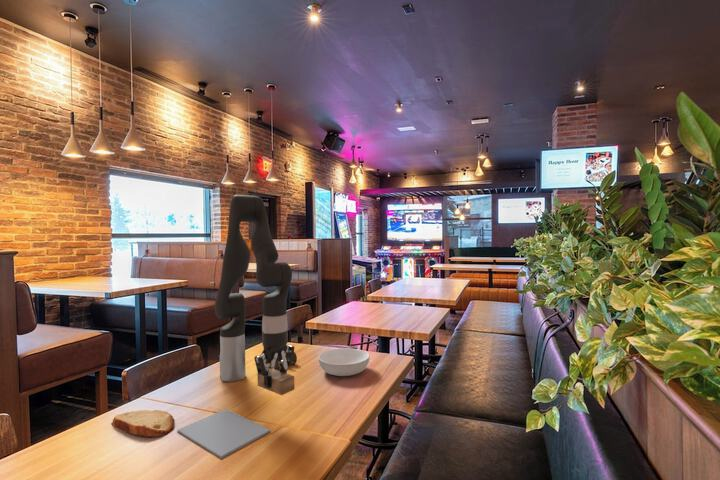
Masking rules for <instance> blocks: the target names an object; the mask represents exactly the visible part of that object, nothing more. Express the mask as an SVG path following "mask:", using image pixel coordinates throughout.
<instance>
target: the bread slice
mask: <svg viewBox="0 0 720 480" xmlns="http://www.w3.org/2000/svg"><path fill="white" fill-rule="evenodd" d="M175 422H176V421H175V419H174V416H173V415H172V414H171V413H169V412H168V411H164V410H159V409H157V410H156V409H155V410H146V409H145V410H136V411H135V410H134V411H127V412H123V413H120V414H116V415H115V416H114V417H113V419H112V422H111V426H113V427H114V428H115V429H118V430H120V431H123V432H125V433H128V434H130V435H134V436H139V437H148V438H160V437H162V436H163V437H164V436H167V435H168V434H169V435H170V433H171V432H173V431H174V430H175V425H176V423H175Z"/></svg>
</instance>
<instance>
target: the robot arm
mask: <svg viewBox="0 0 720 480" xmlns="http://www.w3.org/2000/svg"><path fill="white" fill-rule="evenodd" d="M265 205H266V204H265V202H264V199H262V197H260V196H258V195H249V194H248V195H245V194H234V195H233V196H232V197H231V200H230V205H229V213H228V215H229V216H228V224H227V226H228V228H227V235H226V236H227V237H226V242H225V248H224V253H223V260H222V267H221V274H220V275H221V276H220V280H219V286H218V289H217V293H216V298H215V303H214V314H215V316H216V317H217V318H218V319H222V320H223V319H231V318H232V320H231V321H230V322H228V323H226V324H224V325H223V326H221V328H220V329H219V343H220V345H219V347H220V352H219V377H220V380H221V381H223V382H227V383H228V382H232V383H233V382H237V381H241V380H244V379H245V378H246V373H247V372H246V339H245V338H246V337H245V335H246V334H245V330H246V329H245V328H246V298H245V296H244V295H243V293H242V292H235V293H231V292H232V290H233V289H234V287H235V286H236V285H237V284H238V283H239V282H240V281H241V279H243V277H244V276H245V275H246V274H247V271H248V269H249V264H250V259H251V250H252V252H253V256H254V257H255V263H256V264H255V265H256V271H255V272H256V273H255V280H256V282H257V284H258V285H259V286H261V287H262V288H273V287H276V289H275V291H273V292H272V293H268V294H266V295H264V296H263V297H262V317H261V319H262V321H261V336H262V337H261V340H262V341H261V345H262V346H263V350H262V352H263V353H262V352H261V354H259V355H255V356H254V362H255V367H256V371H257V373H258V374H260V375H263V376H264V385H265V386H266V387H267V388H271V387H272V376H271V373H272V369H275V368H274V366H275V363H277V362H278V364H279V366H280V369H279V370H278V371H280V372H283V373H286V374H288V372H287V371H288V370H287V369H288V367H289V366H290V367H291V366H292V365H293V364H292V361H293V354H294V352H295V346H294V345H290V344H288V343H289V342H288V341H289V340H288V337H289V335H288V333H289V332H288V317H287V316H288V315H287V300H288V294H289V290H290V286H291V282H292V278H293V269H292V267H291V266H290V264H288V263H287V262H277V261H278V259H279V251H278V249H277V247H276V245H275V242H274V240H273V237H272V233H271V230H270V224H269V220H268V219H269V218H268V215H267V211H266V210H267V209H266V206H265ZM241 223H256V224H257V226H256V228H255V231H254V232H253V233H252V234H253V235H252V236H251V239H250V240H251V241H250V246H251V250H250V248H249V246H248V244H247V242H246V240H245V239H244V237H243V235H242V232H241V229H240V228H241ZM264 358H265V360H264ZM288 358H289V361H288ZM267 370H268V371H267Z"/></svg>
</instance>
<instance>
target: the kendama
mask: <svg viewBox="0 0 720 480" xmlns="http://www.w3.org/2000/svg"><path fill="white" fill-rule="evenodd" d="M262 353H263V351H261V354H262ZM297 357H298V356H297V354H296V352H295V351H294V354H293V361H292V365H295V364H297V361H298V358H297ZM264 360H265V358H264ZM288 361H289V358H288ZM273 369H275V370H277V371H279V369H280V366H279V364H278V362H277V363H275V366H274V368H273Z"/></svg>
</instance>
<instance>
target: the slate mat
mask: <svg viewBox="0 0 720 480" xmlns="http://www.w3.org/2000/svg"><path fill="white" fill-rule="evenodd" d="M176 432H177V433H179V434H180V435H181V436H184V437H186V439H189V440H190V441H192V442H193V443H195V444H197V445H198V446H200V447H201V448H203V449H204V450H206V451H208V452H210V453H211V454H213V455H214V456H216V457H218V458H219V459H223V458H226V457H227V456H228V455H229V456H230V455H231V454H232V453H234V452H235V451H238V450H240V449H242V448H244V447H245V446H248V444H251V443H252V442H254V441H256V440H259V439H260V438H262V437H263V436H265V435H267V434H269V433H271V429H269V428H267V427H266V426H264V425H261V424H259V423H257V422H254V421H253V420H251V419H249V418H246V417H244V416H242V415H240V414H238V413H237V412H236V413H235V412H234V411H231V410H230V409H227V408H224V409H222V410H219V411H218V412H215V413H212V414H211V415H208V416H206V417H203V418H201V419H199V420H197V421H194V422H192V423H189V424H188V425H186V426H183V427H180V428H178V429H177V431H176Z"/></svg>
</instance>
